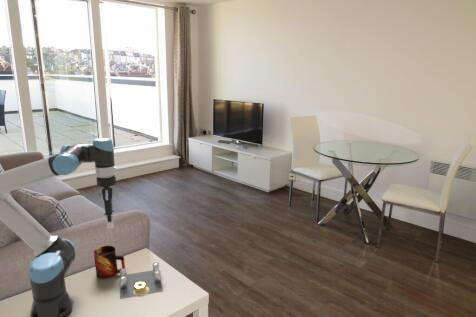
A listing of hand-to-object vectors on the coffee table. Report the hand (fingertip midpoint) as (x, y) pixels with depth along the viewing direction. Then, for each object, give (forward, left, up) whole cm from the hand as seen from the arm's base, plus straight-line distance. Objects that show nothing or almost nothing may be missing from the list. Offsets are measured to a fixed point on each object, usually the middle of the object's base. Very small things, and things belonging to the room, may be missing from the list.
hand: (110, 227), depth 148 cm
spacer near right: (+18, -2, -29) cm, 34 cm away
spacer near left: (+4, -2, -29) cm, 29 cm away
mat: (+11, -1, -29) cm, 31 cm away
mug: (-2, +12, -29) cm, 32 cm away
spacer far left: (+4, +5, -29) cm, 30 cm away
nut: (+11, -6, -29) cm, 31 cm away
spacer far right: (+18, +5, -29) cm, 35 cm away
